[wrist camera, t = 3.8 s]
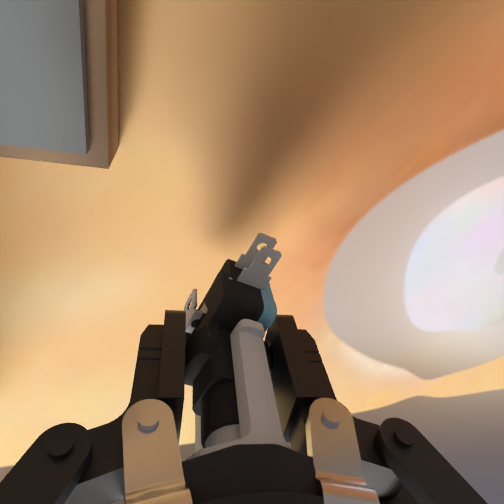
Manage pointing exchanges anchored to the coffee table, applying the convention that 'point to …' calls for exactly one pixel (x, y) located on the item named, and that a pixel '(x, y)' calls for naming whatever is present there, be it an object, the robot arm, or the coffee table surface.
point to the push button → (239, 393)
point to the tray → (59, 81)
